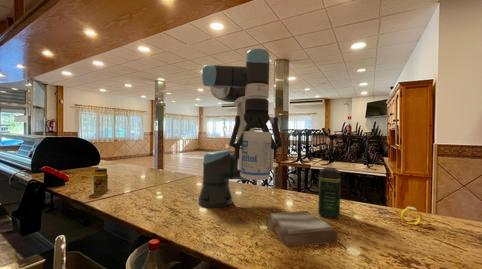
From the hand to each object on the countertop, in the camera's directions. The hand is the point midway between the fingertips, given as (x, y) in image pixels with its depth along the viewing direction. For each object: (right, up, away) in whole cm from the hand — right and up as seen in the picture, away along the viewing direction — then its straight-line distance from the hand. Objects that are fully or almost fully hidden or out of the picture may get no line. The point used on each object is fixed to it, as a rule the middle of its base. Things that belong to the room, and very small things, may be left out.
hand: (255, 169), depth 70 cm
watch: (+57, -22, +10) cm, 62 cm away
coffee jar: (+30, -21, +17) cm, 41 cm away
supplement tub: (0, -3, 0) cm, 3 cm away
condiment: (-76, -19, +42) cm, 89 cm away
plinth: (+14, -20, +1) cm, 25 cm away
